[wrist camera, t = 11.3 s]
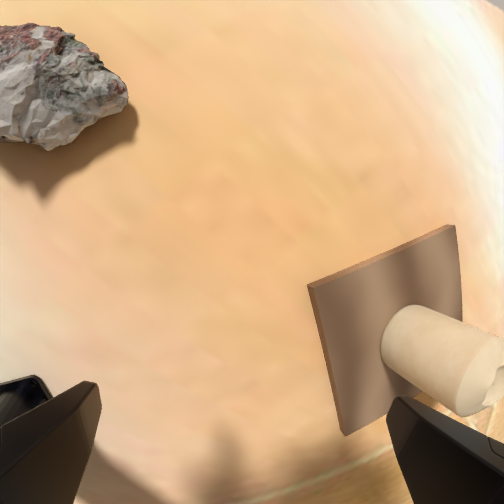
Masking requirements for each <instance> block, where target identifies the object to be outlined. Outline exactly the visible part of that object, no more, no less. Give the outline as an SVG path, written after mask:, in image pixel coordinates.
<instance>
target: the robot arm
mask: <svg viewBox="0 0 504 504" xmlns="http://www.w3.org/2000/svg"><path fill="white" fill-rule="evenodd" d="M32 381H35V382H36V384H34V383H33V382H32ZM101 409H102V404H101V399H100V393H99V387H98V385H97V384H96V383H94V382H89V381H83V382H81V383H79V384H77V385H75V386H74V387H72V388H70V389H68V390H66V391H65V392H63V393H61V394H59V395H57V396H56V397H54V398H52V399H51V397H50V396H49V394H48V392H47V391H46V389H45V387H44V386H43V384H42V382H41V380H40V379H39V377H37V376H35V375H30V376H26V377H23V378H19V379H15V380H11V381H8V382H4V383H0V504H73V502H74V499H75V496H76V494H77V491H78V488H79V485H80V482H81V479H82V476H83V474H84V471H85V468H86V465H87V462H88V460H89V457H90V454H91V451H92V447H93V443H94V438H95V434H96V430H97V426H98V422H99V418H100V414H101ZM386 422H387V426H388V430H389V433H390V437H391V440H392V444H393V448H394V451H395V455H396V458H397V461H398V464H399V466H400V469H401V471H402V474H403V476H404V479H405V481H406V484H407V487H408V489H409V492H410V494H411V497H412V500H413V502H414V504H504V444H503V443H501V442H499V441H497V440H494V439H492V438H490V437H487V436H486V435H484V434H482V433H480V432H478V431H476V430H474V429H472V428H470V427H468V426H466V425H464V424H462V423H460V422H458V421H456V420H454V419H452V418H450V417H448V416H446V415H444V414H442V413H440V412H438V411H436V410H434V409H432V408H430V407H428V406H427V405H425V404H423V403H421V402H419V401H417V400H415V399H413V398H411V397H410V396H407V395H402V396H397V397H395V398H394V399H393V402H392V404H391V406H390V409H389V411H388V413H387V417H386Z"/></svg>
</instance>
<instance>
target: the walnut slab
mask: <svg viewBox="0 0 504 504" xmlns="http://www.w3.org/2000/svg"><path fill="white" fill-rule="evenodd" d="M307 287H308V291H309V294H310V298H311V302H312V306H313V310H314V314H315V319H316V323H317V327H318V331H319V335H320V339H321V343H322V348H323V352H324V356H325V360H326V365H327V369H328V374H329V378H330V383H331V387H332V392H333V396H334V401H335V405H336V410H337V415H338V420H339V424H340V429H341V431H342V432H343V433H344V435H345V436H347V435H349V434H351V433H353V432H355V431H357V430H359V429H361V428H362V427H364V426H366V425H368V424H370V423H371V422H373V421H375V420H377V419H378V418H380V417H382V416H383V415H385V414H387V413H388V411H389V409H390V406H391V404H392V402H393V399H394V398H395V397H397V396H402V395H407V396H410V397H411V398H412V397H414V396H415V395H417V394H418V393H420V392H421V391H422V390H420V389H419V388H418V387H416V386H415V385H413V384H412V383H410V382H409V381H408V380H406V379H405V378H403V377H402V376H400V375H399V374H398V373H396V372H395V371H393V370H392V369H391V368H389V367H388V366H387V365H386V364H385V363H384V361H383V359H382V357H381V354H380V342H381V337H382V334H383V332H384V329H385V327H386V325H387V324H388V322H389V321H390V319H391V318H392V317H393V316H394V314H396V313H397V312H398V311H399V310H400V309H402V308H404V307H406V306H408V305H420V306H423V307H426V308H429V309H431V310H434V311H436V312H439V313H441V314H444V315H446V316H449V317H451V318H454V319H456V320H459V321H461V322H462V291H461V275H460V263H459V253H458V244H457V236H456V228H455V225H445V226H443V227H441V228H438V229H436V230H434V231H432V232H430V233H427V234H425V235H423V236H421V237H419V238H416V239H414V240H412V241H410V242H407V243H405V244H403V245H401V246H398V247H396V248H394V249H392V250H389V251H387V252H385V253H382V254H380V255H378V256H375V257H373V258H371V259H368V260H366V261H364V262H361V263H359V264H356V265H354V266H352V267H349V268H347V269H344V270H342V271H340V272H337V273H335V274H332V275H330V276H327V277H325V278H322V279H320V280H317V281H315V282H312V283H310V284H307Z"/></svg>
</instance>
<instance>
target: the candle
mask: <svg viewBox="0 0 504 504" xmlns="http://www.w3.org/2000/svg"><path fill="white" fill-rule="evenodd" d="M380 354H381V357H382V359H383V361H384V363H385V364H386V365H387V366H388V367H389V368H391V369H392V370H393V371H395V372H396V373H398V374H399V375H400V376H402V377H403V378H405V379H406V380H408V381H409V382H410V383H412V384H413V385H415V386H416V387H418V388H419V389H420V390H422V391H423V392H425V393H426V394H428V395H429V396H430V397H432V398H433V399H435V400H436V401H438V402H439V403H441V404H442V405H443V406H445V407H446V408H448V409H449V410H451V411H452V412H454V413H455V414H456V415H458V416H460V417H467V416H470V415H473V414H476V413H478V412H480V411H482V410H484V409H485V408H487V407H489V406H491V405H493V404H494V403H495V402H497V401H498V400H500V399H501V398H502V397H503V396H504V339H502V338H500V337H498V336H496V335H493V334H491V333H488V332H486V331H483V330H481V329H479V328H476V327H474V326H471V325H469V324H466V323H464V322H461V321H459V320H456V319H454V318H451V317H449V316H446V315H444V314H441V313H439V312H436V311H434V310H431V309H429V308H426V307H423V306H420V305H408V306H406V307H404V308H402V309H400V310H399V311H398V312H397V313H396V314H394V316H393V317H392V318H391V319H390V321H389V322H388V324H387V325H386V327H385V329H384V332H383V334H382V337H381V342H380Z"/></svg>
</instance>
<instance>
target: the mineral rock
mask: <svg viewBox="0 0 504 504" xmlns="http://www.w3.org/2000/svg"><path fill="white" fill-rule="evenodd" d="M74 37H75V34H72V33H66V32H64V31H63V30H62V29H61V28H60V27H50V26H40V25H37V24H34V23H27V24H24V25H20V26H6V25H5V26H3V27H2V26H0V141H3V142H27V143H29V144H37V145H39V146H40V147H43V148H44V149H45V150H47V151H50V150H52V149H54V148H56V147H57V146H60V145H66V144H70V143H71V142H73V140H74V139H75V138H76V137H77V136H78V135H79V134H80V132H81V131H82V130H83V129H84V128H85V127H87V126H90V125H93V124H95V123H96V122H97V121H98V120H99V119H101V118H103V117H106V116H108V115H112V114H116V113H119V112H121V111H122V110H123V108H124V107H125V106H126V105H127V104H128V98H129V97H128V91H127V87H126V85H125V83H124V82H123V81H122V80H121V79H120V77H119V76H118V75H116V74H114V73H113V72H111V71H110V70H108V69H106V68H105V67H104V64H103V62H102V61H100V60H99V55H98V53H94V52H90V50H89V48H88V47H87V45H86V44H84V43H82V42H79V41H77V40H75V39H74Z"/></svg>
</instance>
